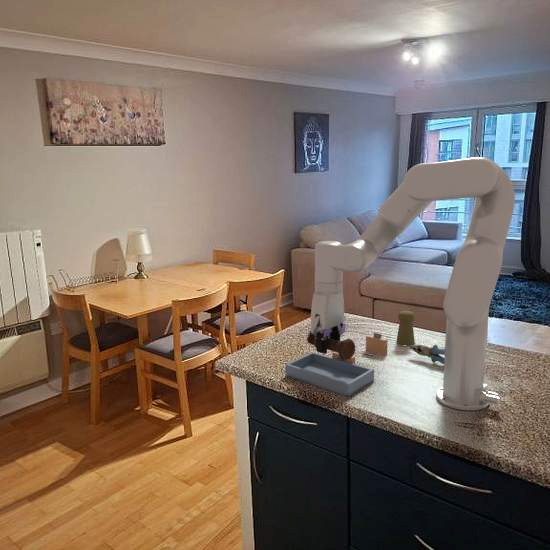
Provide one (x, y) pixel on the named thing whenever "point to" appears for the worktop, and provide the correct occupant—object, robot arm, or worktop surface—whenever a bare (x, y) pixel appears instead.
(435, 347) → the pliers
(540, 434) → the worktop surface
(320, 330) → the masking tape
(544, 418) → the worktop surface
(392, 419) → the worktop surface
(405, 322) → the cork
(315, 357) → the tray
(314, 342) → the bolt
